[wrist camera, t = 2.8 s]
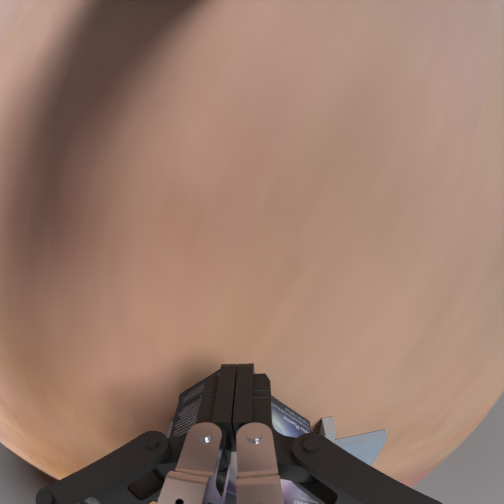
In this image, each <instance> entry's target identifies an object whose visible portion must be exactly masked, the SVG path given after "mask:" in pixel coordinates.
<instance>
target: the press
mask: <svg viewBox="0 0 504 504" xmlns="http://www.w3.org/2000/svg"><path fill="white" fill-rule="evenodd" d="M172 426H173V421H170V424H169V427H168V431H167V435H166V437H167V438H168V437H169V436H170V432H171V429H172ZM319 434H321V435H323V436H324V437H326V438H327V439H329V440H330V441H332V442H333V443H335V444H336V445H338V446H339V447H341V448H342V449H344V450H345V451H347V452H349V453H350V454H352V455H353V456H355V457H357V458H358V459H360V460H361V461H363V462H365V463H366V464H368V465H370V466H371V465H372V464H373V463H374V461H375V459H376V457H377V456H378V454H379V452H380V450H381V449H382V447H383V445H384V443H385V441H386V439H387V438H388V437H387V434H386V432H385V429H384V430H380V431H375V432H371V433H367V434H362V435H357V436H352V437H347V438H341V439H335V437H336V434H337V432H336V428H335V424H334V420H333V417H328V418H322V421H321V426H320V431H319Z"/></svg>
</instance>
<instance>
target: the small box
mask: <svg viewBox="0 0 504 504" xmlns="http://www.w3.org/2000/svg"><path fill="white" fill-rule="evenodd" d="M212 375H220V370H218V371H217V372H215V373H214V374H212ZM208 378H209V377H207V378H206V379H204V380H202V381H201V382H199V383H198V384H196V385H194V386H193V387H191V388H190V389H188V390H186V391H185V392H183V393H181V394H180V396H179V403H178V406H177V410H176V414H175V417H174V421H173V426H172V429H171V432H170V436H169V437H174V436H180V435H183V434H186V433H188V431H189V429H190V428H191V427H192V426H194V425H195V424H196V421H197V416H198V411H199V407H200V402H201V399H202V393H203V388H204V384H205V381H206V380H207V379H208ZM271 408H272V424H273V427H274V428H275V430H276V431H277V432H279V433H280V434H282V435H285V436H290V437H295V438H297V437H299V436H300V435H302V434H305V433H311V427H310V422H309V421H308V420H307V419H305V418H304V417H302V416H301V415H299V414H297V413H296V412H295V411H293V410H292V409H290V408H289V407H287V406H286V405H284V404H283V403H281V402H280V401H278V400H277V399H276V398H274V397H273V396H271ZM236 478H237V452H231V469H230V474H229V480H228V485H227V490H226V496H225V504H237V499H236ZM280 482H281V489H282V495H283V502H284V504H319V503H318V502H316V501H315V500H314V499H312V498H311V497H310V496H308V495H307V494H306V493H304V492H303V491H302V490H301V489H299V488H298V487H297V486H296V485H294V484H293V483H292V481H289V480H284V479H280ZM158 499H159V497H158V498H157V499H155V500H154V501H155V502H158Z"/></svg>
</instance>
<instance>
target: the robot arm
mask: <svg viewBox="0 0 504 504" xmlns="http://www.w3.org/2000/svg"><path fill="white" fill-rule="evenodd" d="M231 452H237V478H236V499H237V504H284V502H283V495H282V489H281V482H280V479H284V480H289V481H292V483H293V484H294V485H296V486H297V487H298V488H299V489H301V490H302V491H303V492H304V493H306V494H307V495H308V496H310V497H311V498H312V499H314V500H315V501H316V502H318V503H319V504H442V503H441V502H439V501H437V500H435V499H432V498H430V497H428V496H426V495H424V494H422V493H420V492H418V491H416V490H414V489H412V488H410V487H408V486H406V485H404V484H402V483H400V482H398V481H396V480H394V479H393V478H391V477H389V476H387V475H385V474H384V473H382V472H380V471H378V470H377V469H375V468H373V467H371V466H370V465H368V464H366V463H365V462H363V461H361V460H360V459H358V458H357V457H355V456H353V455H352V454H350V453H349V452H347V451H345V450H344V449H342V448H341V447H339V446H338V445H336V444H335V443H333V442H332V441H330V440H329V439H327V438H326V437H324V436H323V435H321V434H318V433H305V434H302V435H300V436H299V437H297V438H295V437H290V436H285V435H282V434H280V433H279V432H277V431H276V430H275V428H274V427H273V424H272V408H271V388H270V380H269V378H268V377H267V375H266V374H255V371H254V363H251V364H238V365H237V364H222V365H221V369H220V375H210V376H209V378H208V379H207V380H206V381H205V384H204V388H203V393H202V399H201V402H200V407H199V411H198V416H197V421H196V424H195V425H194V426H192V427H191V428H190V429H189V431H188V433H186V434H183V435H180V436H174V437H168V438H167V437H166V436H165V435H164V434H163V433H161V432H158V431H149V432H145V433H143V434H141V435H140V436H138V437H137V438H135V439H133V440H132V441H130V442H129V443H127V444H125V445H124V446H122V447H120V448H119V449H117V450H115V451H113V452H112V453H110V454H108V455H107V456H105V457H103V458H101V459H99V460H98V461H96V462H94V463H92V464H90V465H89V466H87V467H85V468H83V469H81V470H79V471H77V472H75V473H73V474H71V475H69V476H67V477H65V478H63V479H61V480H59V481H57V482H55V483H53V484H51V485H49V486H46V487H44V488H42V489H41V490H39V491H38V493H37V495H36V504H149V503H151V502H152V501H154V500H155V499H157V498H158V497H159V499H158V502H157V504H225V496H226V490H227V485H228V480H229V474H230V469H231Z"/></svg>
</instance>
